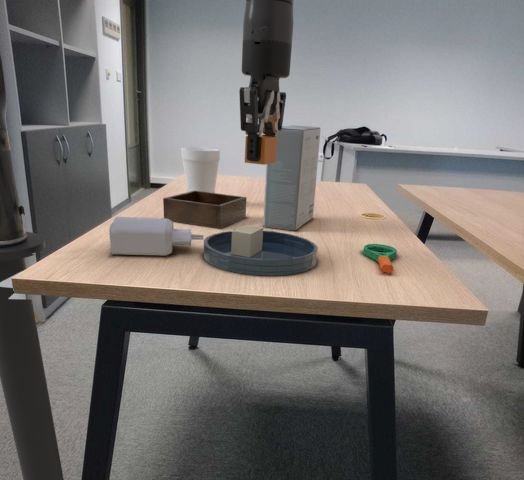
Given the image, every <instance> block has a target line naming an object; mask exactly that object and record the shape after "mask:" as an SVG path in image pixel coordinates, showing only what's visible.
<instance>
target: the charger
mask: <svg viewBox="0 0 524 480" xmlns="http://www.w3.org/2000/svg"><path fill="white" fill-rule="evenodd" d="M108 229H109V230H108V231H109V243H110V254H111V255H123V256H125V255H126V256H163V257H164V256H165V257H166V256H168V255H170V254H172V253H173V249H174V246H188V247H191V246H192V240H200V241H204V240H205V239H204V234H196V233H195V234H192V229H191V228H190V229H189V228H174V221H171V220H169V219H165V218H164V217H163V218H161V217H160V218H159V217H137V216H136V217H135V216H132V217H131V216H116V217H115V218H114V220H113V221H112V222H111V224H110V225H109V228H108Z"/></svg>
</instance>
